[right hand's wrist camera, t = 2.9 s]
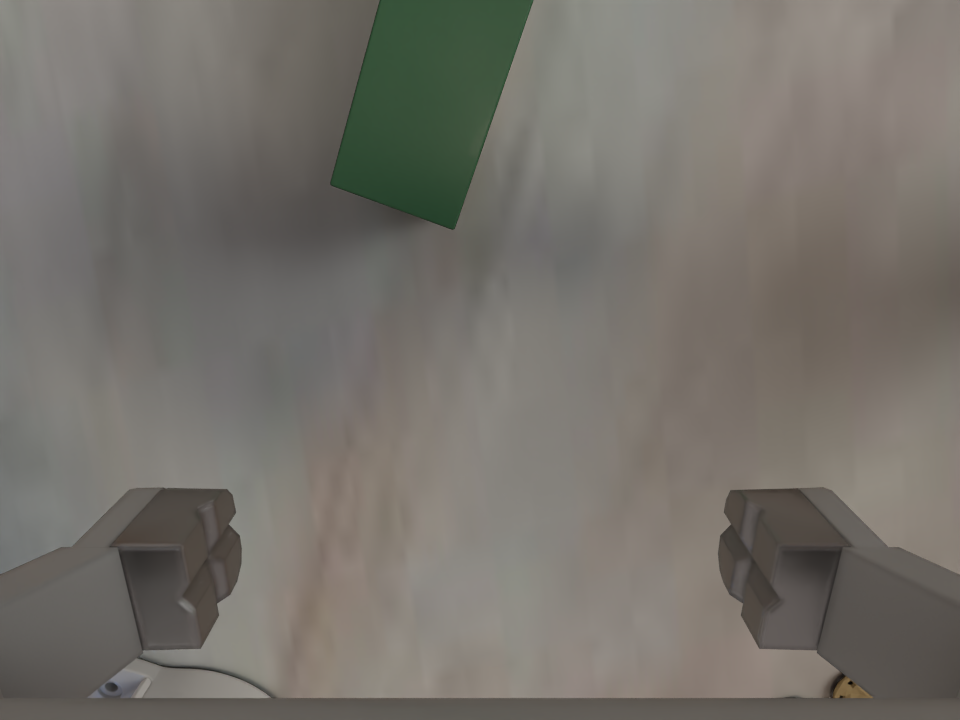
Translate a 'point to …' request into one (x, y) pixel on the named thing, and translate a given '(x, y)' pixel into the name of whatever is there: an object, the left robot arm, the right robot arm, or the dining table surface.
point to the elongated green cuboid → (427, 102)
